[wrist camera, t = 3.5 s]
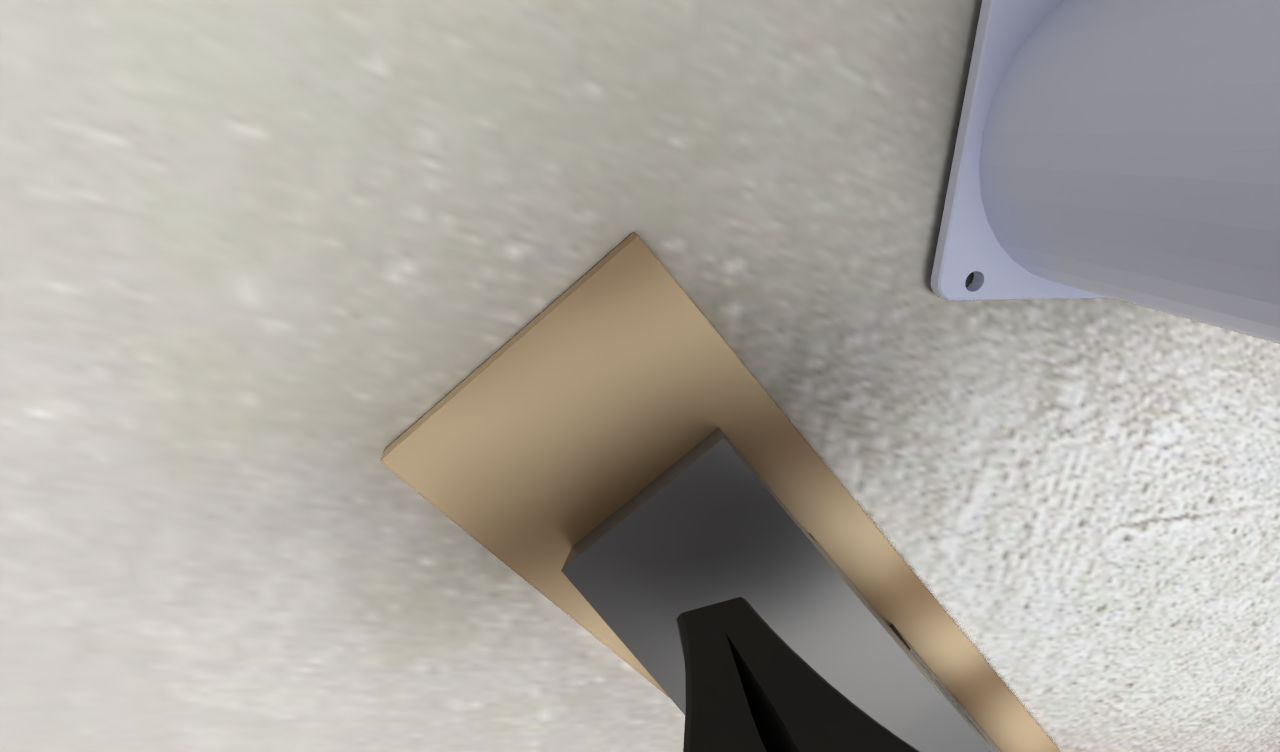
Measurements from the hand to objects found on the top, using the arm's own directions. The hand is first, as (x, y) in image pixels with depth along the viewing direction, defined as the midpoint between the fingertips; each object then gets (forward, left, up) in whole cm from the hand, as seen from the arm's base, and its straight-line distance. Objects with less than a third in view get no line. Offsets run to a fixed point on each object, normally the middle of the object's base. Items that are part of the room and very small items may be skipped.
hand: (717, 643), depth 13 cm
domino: (+1, -1, -4) cm, 4 cm away
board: (-5, +5, -5) cm, 9 cm away
